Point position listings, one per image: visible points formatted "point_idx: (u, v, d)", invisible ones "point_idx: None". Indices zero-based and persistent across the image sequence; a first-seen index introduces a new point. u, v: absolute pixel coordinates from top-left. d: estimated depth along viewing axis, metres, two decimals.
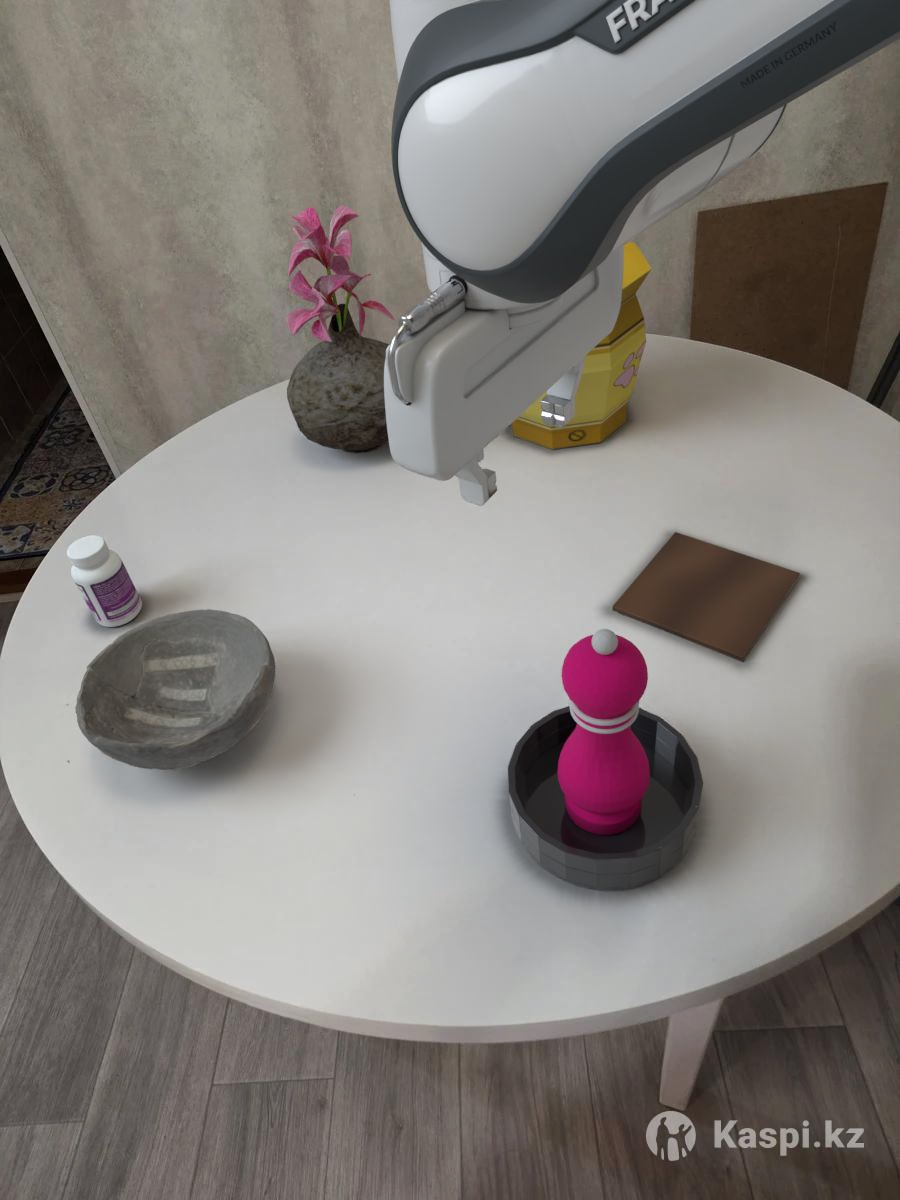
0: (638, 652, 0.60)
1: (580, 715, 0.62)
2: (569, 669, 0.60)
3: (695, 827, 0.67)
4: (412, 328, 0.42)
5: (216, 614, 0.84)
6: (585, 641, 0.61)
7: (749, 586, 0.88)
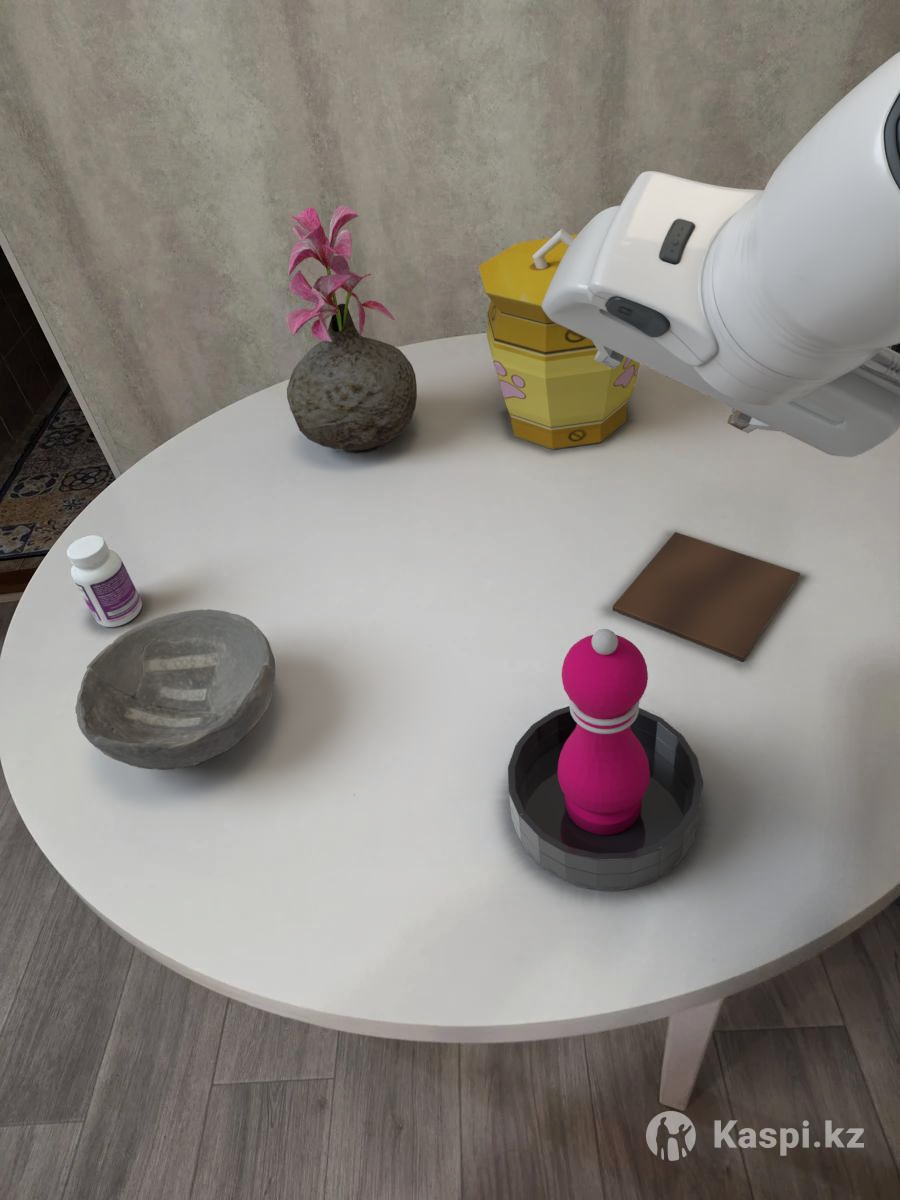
0: (638, 652, 0.60)
1: (580, 715, 0.62)
2: (569, 669, 0.60)
3: (695, 827, 0.67)
4: None
5: (216, 614, 0.84)
6: (585, 641, 0.61)
7: (749, 586, 0.88)
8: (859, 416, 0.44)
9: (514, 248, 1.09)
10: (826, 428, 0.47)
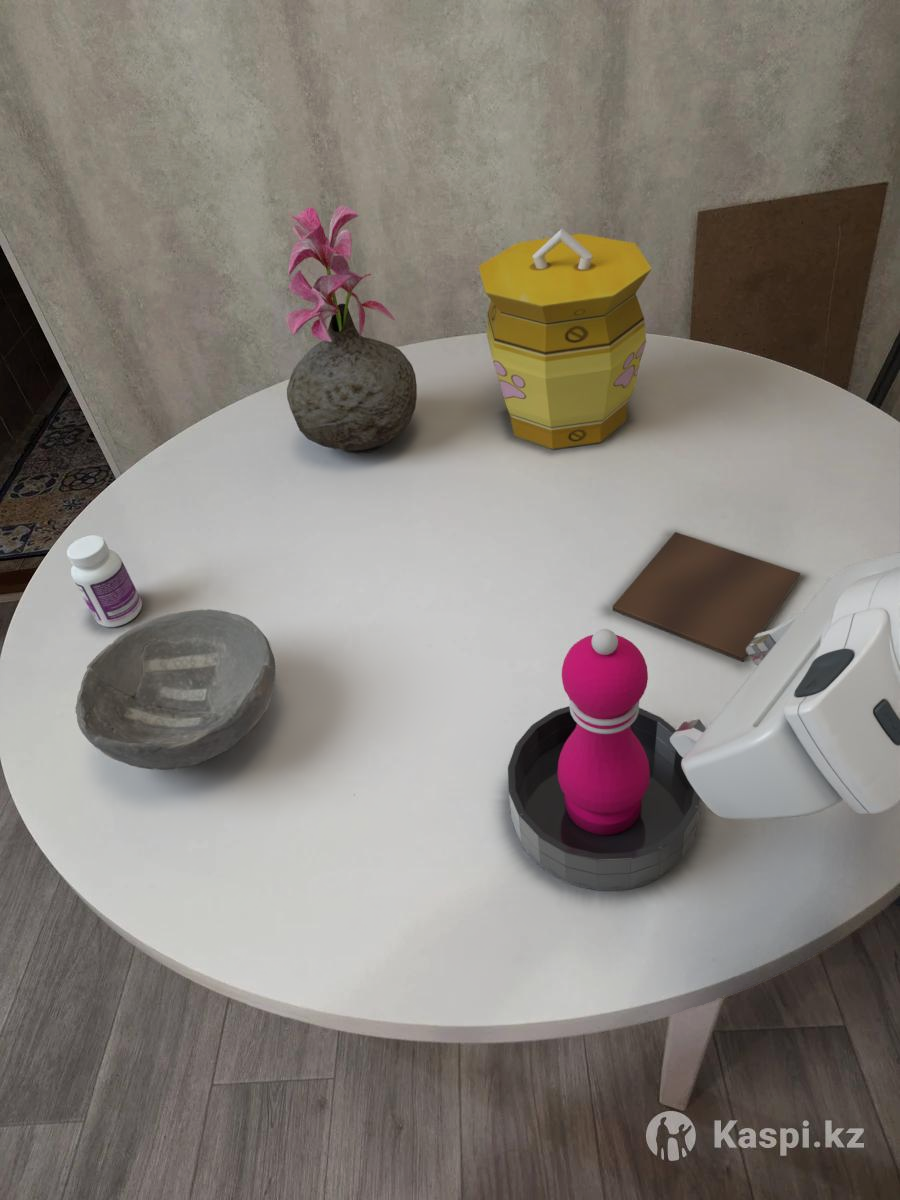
0: (638, 652, 0.60)
1: (580, 715, 0.62)
2: (569, 669, 0.60)
3: (695, 827, 0.67)
4: None
5: (216, 614, 0.84)
6: (585, 641, 0.61)
7: (749, 586, 0.88)
8: None
9: (514, 248, 1.09)
10: None
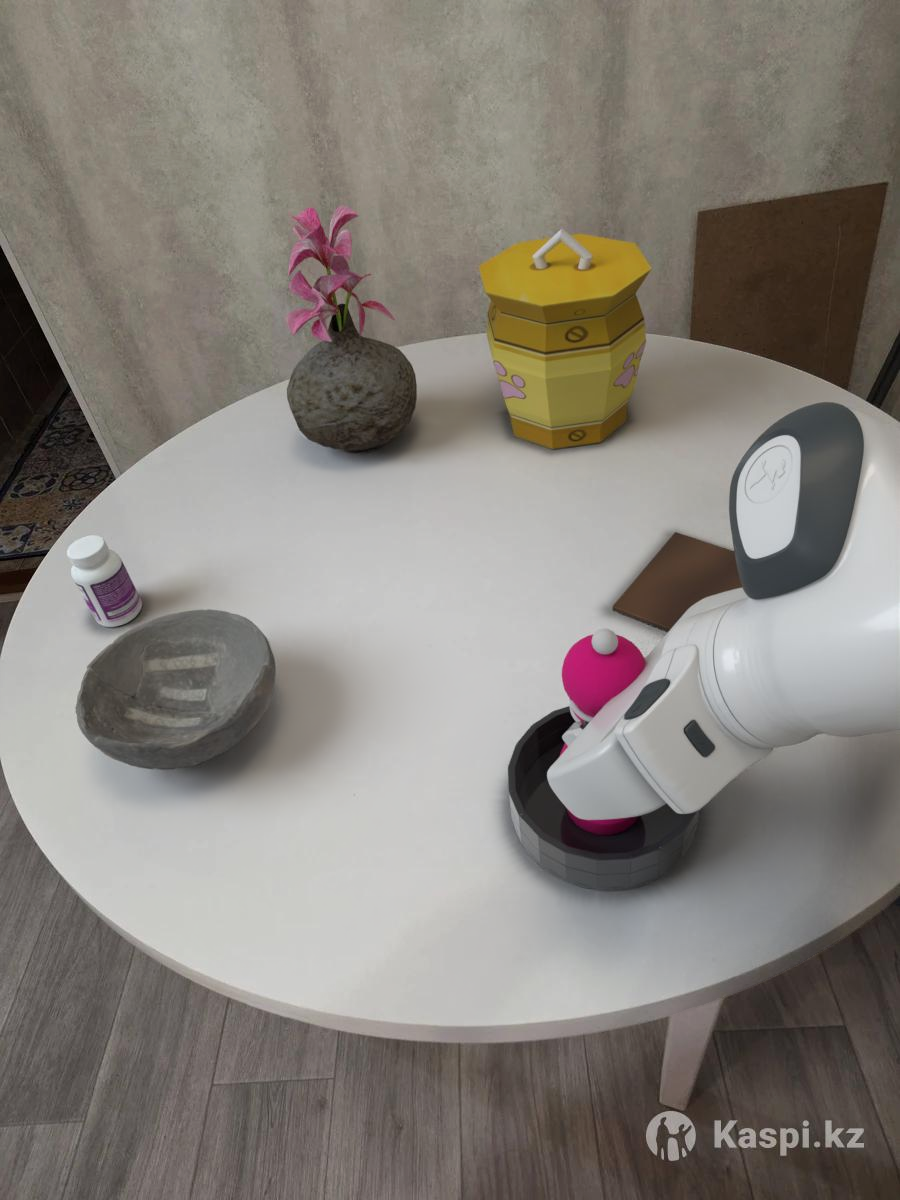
0: (638, 652, 0.60)
1: (580, 715, 0.62)
2: (569, 668, 0.60)
3: (695, 827, 0.67)
4: None
5: (216, 614, 0.84)
6: (585, 640, 0.61)
7: None
8: None
9: (514, 248, 1.09)
10: None
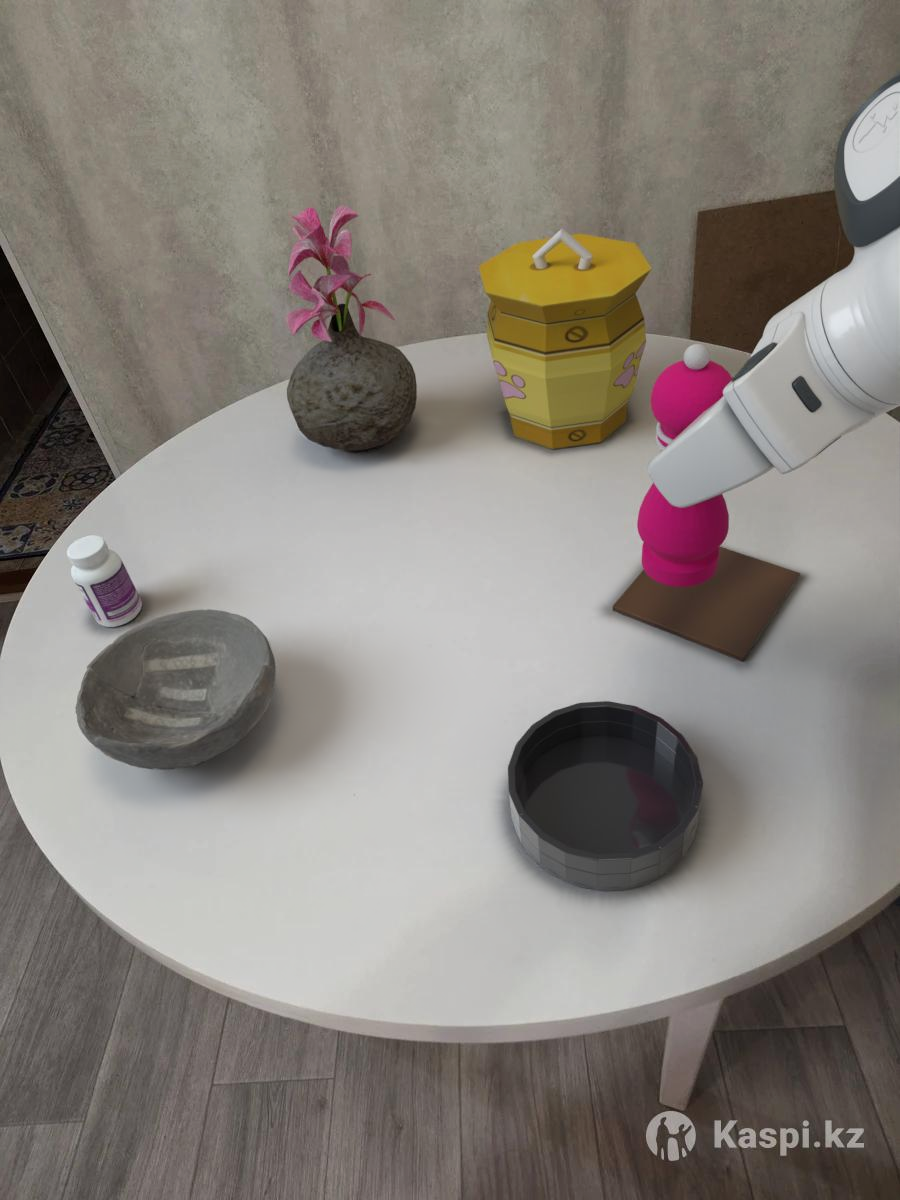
0: (728, 372, 0.62)
1: (669, 441, 0.63)
2: (661, 387, 0.61)
3: (695, 827, 0.67)
4: None
5: (216, 614, 0.84)
6: (675, 363, 0.62)
7: (749, 586, 0.88)
8: None
9: (514, 248, 1.09)
10: None
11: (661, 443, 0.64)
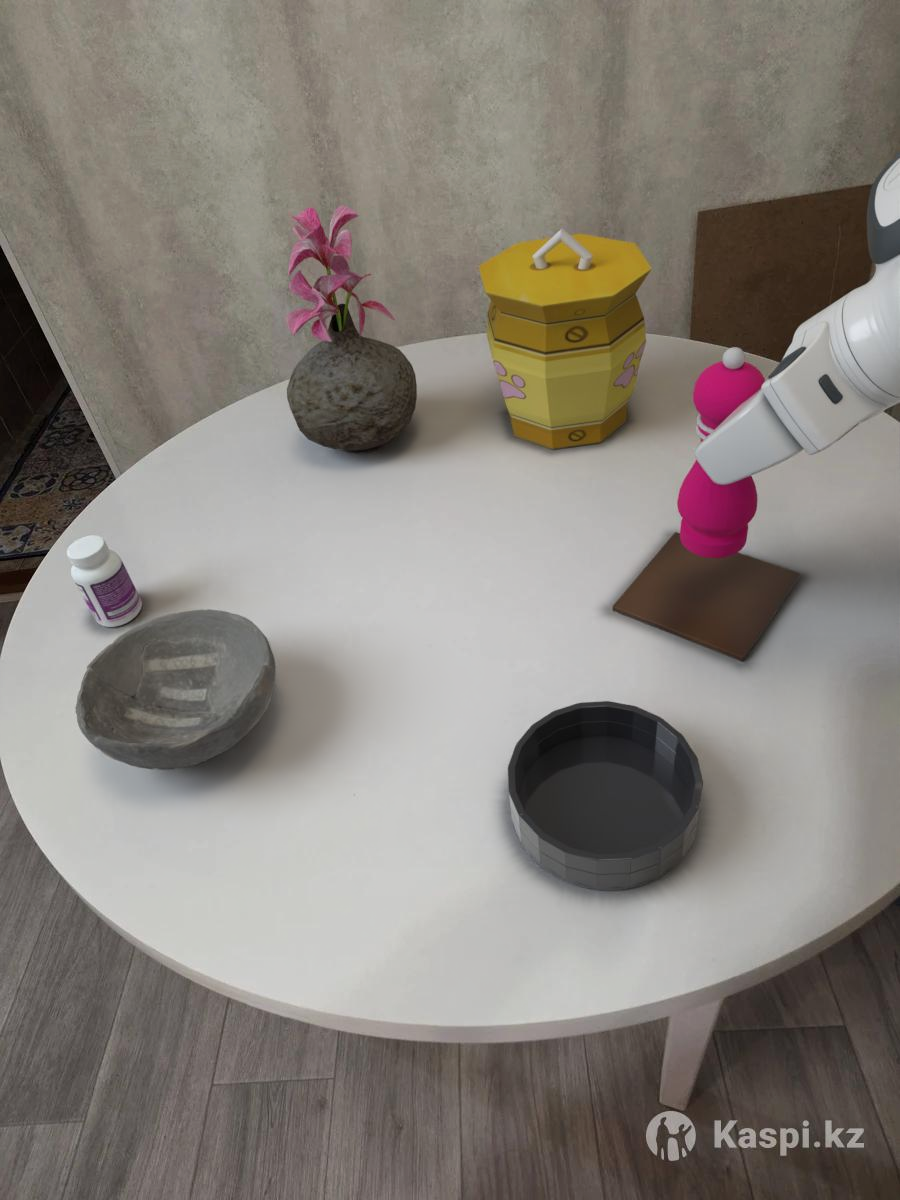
0: (759, 371, 0.73)
1: (708, 430, 0.74)
2: (703, 384, 0.72)
3: (695, 827, 0.67)
4: None
5: (216, 614, 0.84)
6: (714, 364, 0.73)
7: (749, 586, 0.88)
8: None
9: (514, 248, 1.09)
10: None
11: (701, 432, 0.75)
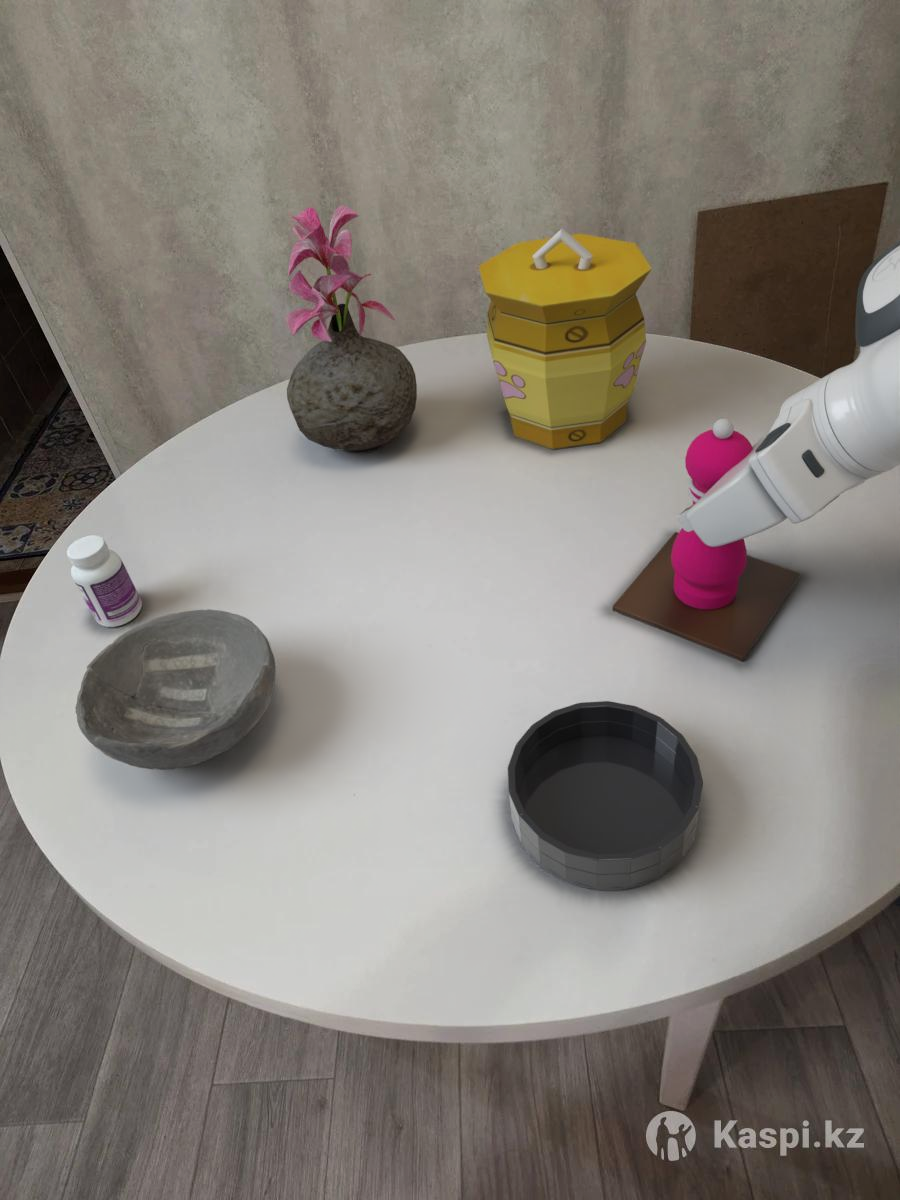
0: (748, 440, 0.77)
1: (699, 493, 0.79)
2: (694, 452, 0.77)
3: (695, 827, 0.67)
4: None
5: (216, 614, 0.84)
6: (705, 432, 0.78)
7: (749, 586, 0.88)
8: None
9: (514, 248, 1.09)
10: None
11: (693, 495, 0.80)
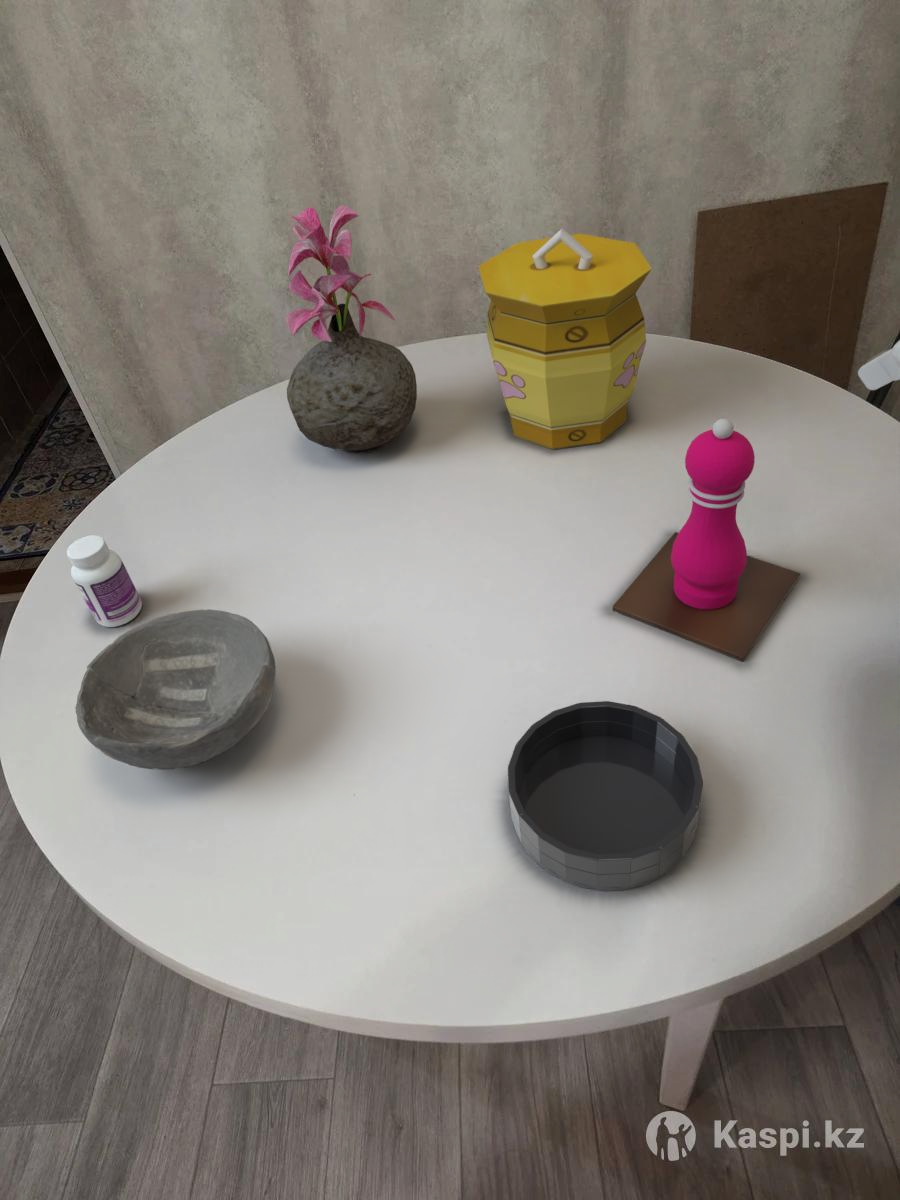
0: (747, 440, 0.77)
1: (699, 493, 0.79)
2: (694, 452, 0.77)
3: (695, 827, 0.67)
4: None
5: (216, 614, 0.84)
6: (705, 432, 0.78)
7: (749, 586, 0.88)
8: None
9: (514, 248, 1.09)
10: None
11: (693, 495, 0.80)
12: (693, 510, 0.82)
